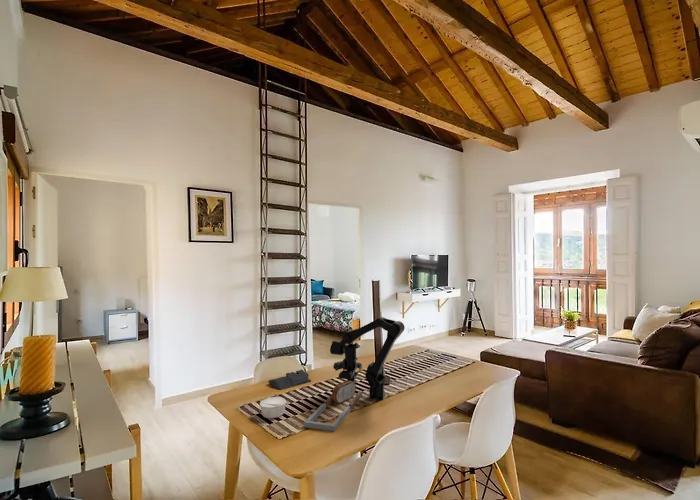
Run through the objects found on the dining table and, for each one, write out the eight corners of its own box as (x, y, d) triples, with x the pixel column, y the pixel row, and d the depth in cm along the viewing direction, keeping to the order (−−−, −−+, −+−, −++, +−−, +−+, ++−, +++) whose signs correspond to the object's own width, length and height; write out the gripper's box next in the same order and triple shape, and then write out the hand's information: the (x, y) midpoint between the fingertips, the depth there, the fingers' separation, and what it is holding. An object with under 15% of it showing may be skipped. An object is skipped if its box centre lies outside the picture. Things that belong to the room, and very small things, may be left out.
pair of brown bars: (361, 396, 182) (361, 392, 182) (351, 409, 167) (351, 404, 167) (336, 393, 186) (336, 389, 186) (324, 406, 171) (324, 401, 171)
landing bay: (350, 411, 165) (350, 406, 165) (334, 431, 146) (334, 426, 146) (323, 407, 169) (322, 403, 169) (304, 427, 150) (304, 422, 151)
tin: (352, 394, 184) (351, 377, 185) (357, 396, 182) (356, 378, 183) (331, 404, 173) (331, 386, 173) (336, 406, 171) (336, 387, 171)
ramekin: (260, 421, 157) (260, 408, 157) (259, 410, 167) (259, 398, 168) (287, 417, 160) (287, 405, 160) (284, 407, 171) (284, 395, 171)
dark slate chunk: (264, 384, 203) (264, 375, 203) (298, 375, 217) (298, 367, 217) (279, 391, 191) (279, 382, 191) (314, 381, 206) (314, 373, 206)
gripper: (341, 350, 199) (342, 380, 199) (328, 360, 181) (329, 392, 181) (361, 352, 195) (362, 382, 195) (350, 361, 178) (350, 395, 177)
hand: (351, 387), depth 187 cm, fingers closed
